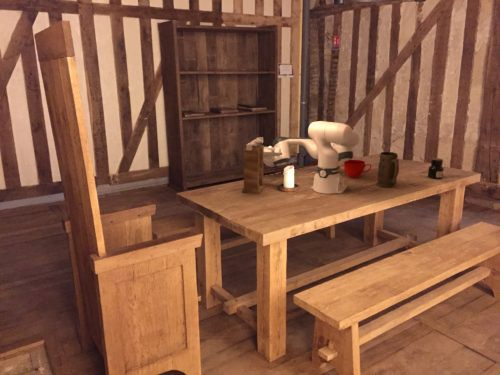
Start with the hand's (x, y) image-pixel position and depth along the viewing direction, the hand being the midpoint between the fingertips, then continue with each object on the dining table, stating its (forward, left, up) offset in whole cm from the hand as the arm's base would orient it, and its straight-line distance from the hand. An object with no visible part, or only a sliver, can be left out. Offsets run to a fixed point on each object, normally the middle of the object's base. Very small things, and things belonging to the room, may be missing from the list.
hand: (262, 146), depth 265 cm
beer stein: (-34, +68, -21) cm, 79 cm away
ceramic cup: (-44, +44, -21) cm, 65 cm away
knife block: (+20, +8, -21) cm, 30 cm away
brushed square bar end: (+18, +7, +4) cm, 20 cm away
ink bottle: (-73, +85, -22) cm, 114 cm away
